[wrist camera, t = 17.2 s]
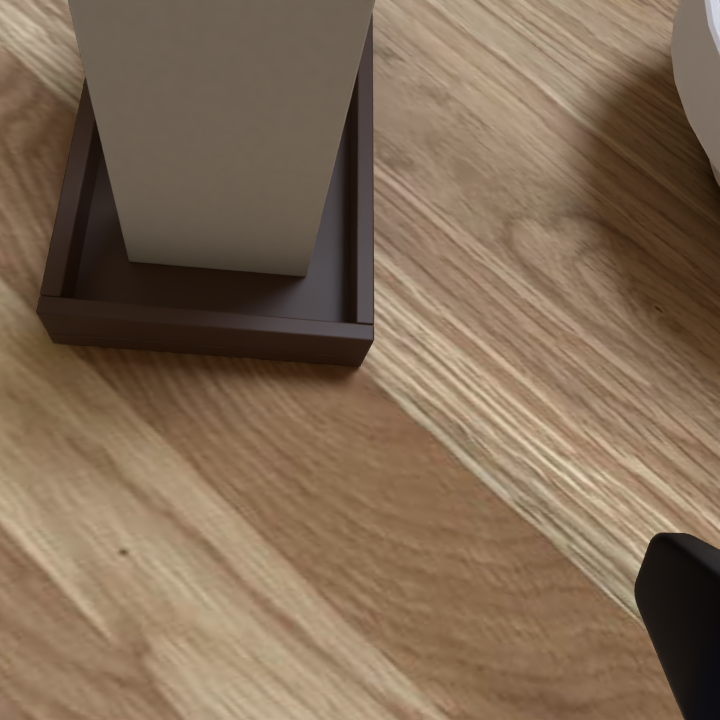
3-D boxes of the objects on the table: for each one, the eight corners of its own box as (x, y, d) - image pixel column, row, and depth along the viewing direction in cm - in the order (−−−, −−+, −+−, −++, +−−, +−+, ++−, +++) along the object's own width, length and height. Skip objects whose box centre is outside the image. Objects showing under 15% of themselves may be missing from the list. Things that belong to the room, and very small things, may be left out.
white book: (306, 277, 24) (428, -210, 10) (128, 262, 23) (-7, -309, 9) (307, 217, 25) (420, -303, 11) (136, 199, 23) (26, -403, 10)
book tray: (360, 367, 24) (374, 340, 22) (52, 343, 22) (35, 312, 20) (361, 11, 30) (372, -35, 28) (125, -29, 28) (117, -82, 26)
